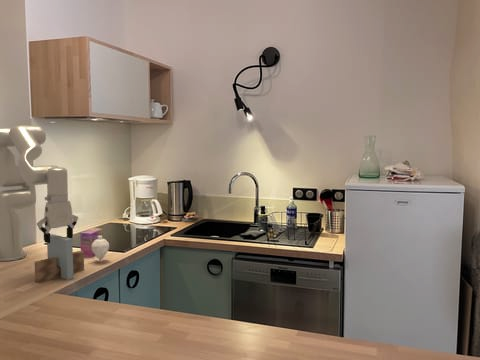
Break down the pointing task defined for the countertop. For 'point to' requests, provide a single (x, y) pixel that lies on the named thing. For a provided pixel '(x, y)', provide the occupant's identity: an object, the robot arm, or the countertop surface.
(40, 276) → the walnut slotted plate
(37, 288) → the countertop surface
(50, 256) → the grey slotted plate
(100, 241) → the spinning top
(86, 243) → the box
